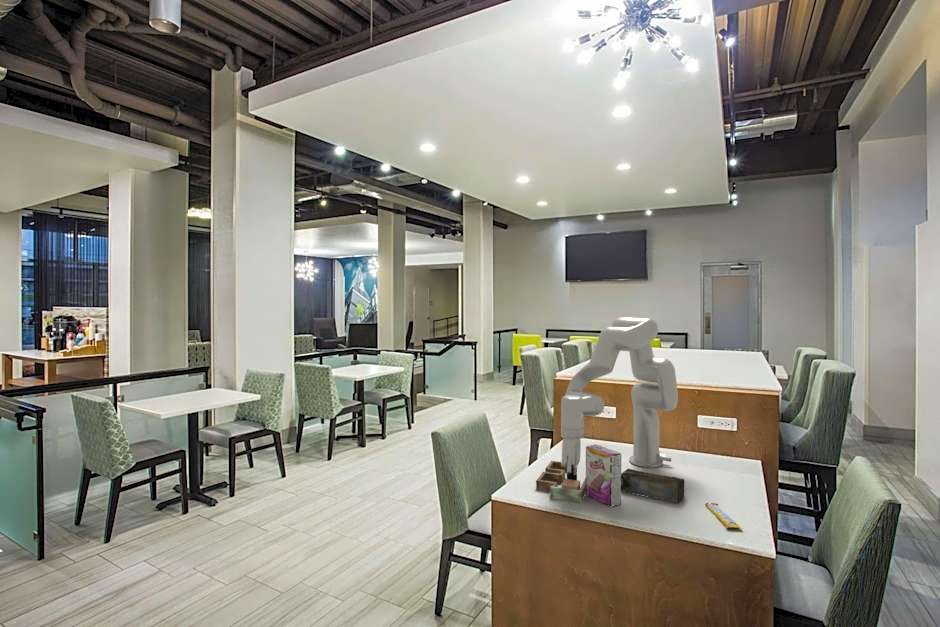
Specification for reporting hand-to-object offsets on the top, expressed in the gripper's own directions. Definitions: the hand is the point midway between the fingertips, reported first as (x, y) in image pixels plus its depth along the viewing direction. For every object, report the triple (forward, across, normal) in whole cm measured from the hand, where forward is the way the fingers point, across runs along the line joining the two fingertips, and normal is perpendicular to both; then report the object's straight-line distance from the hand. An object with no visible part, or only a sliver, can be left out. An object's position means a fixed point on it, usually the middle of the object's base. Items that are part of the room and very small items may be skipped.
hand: (571, 485), depth 169 cm
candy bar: (+2, +6, +45) cm, 46 cm away
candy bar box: (+1, +6, +11) cm, 13 cm away
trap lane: (+1, -8, -3) cm, 9 cm away
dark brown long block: (+1, -6, +25) cm, 26 cm away
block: (+1, +5, +1) cm, 5 cm away
